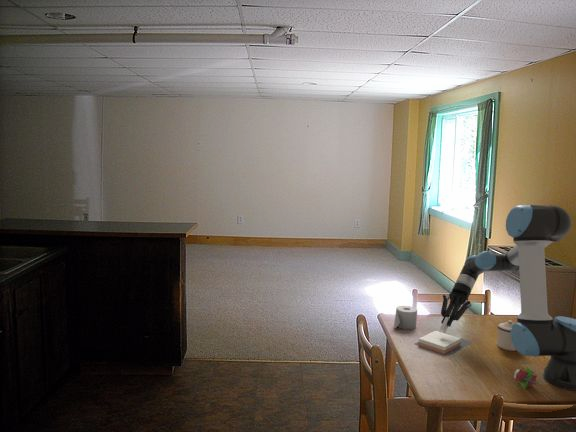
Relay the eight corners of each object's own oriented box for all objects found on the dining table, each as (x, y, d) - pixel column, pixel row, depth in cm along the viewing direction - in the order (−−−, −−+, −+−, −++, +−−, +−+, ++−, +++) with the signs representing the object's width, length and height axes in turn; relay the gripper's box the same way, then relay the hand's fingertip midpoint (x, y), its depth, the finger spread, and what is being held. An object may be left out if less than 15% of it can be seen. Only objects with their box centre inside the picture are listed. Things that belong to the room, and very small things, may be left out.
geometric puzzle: (535, 376, 181) (523, 359, 180) (545, 385, 174) (533, 367, 173) (518, 387, 181) (507, 370, 180) (528, 396, 174) (516, 379, 173)
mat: (439, 332, 228) (439, 331, 228) (473, 342, 217) (473, 341, 217) (413, 344, 213) (413, 343, 213) (448, 356, 201) (448, 355, 201)
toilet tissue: (391, 330, 229) (392, 312, 228) (399, 321, 241) (399, 304, 240) (410, 334, 225) (411, 315, 224) (417, 325, 237) (418, 307, 236)
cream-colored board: (435, 330, 221) (418, 338, 211) (461, 338, 212) (444, 346, 203) (435, 337, 221) (418, 345, 211) (460, 345, 213) (444, 353, 203)
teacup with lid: (519, 352, 207) (521, 326, 205) (495, 348, 211) (497, 322, 209) (519, 343, 218) (521, 317, 216) (497, 339, 222) (499, 314, 220)
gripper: (479, 294, 220) (459, 340, 210) (452, 288, 229) (431, 331, 219) (475, 285, 215) (454, 331, 206) (447, 278, 224) (425, 322, 215)
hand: (442, 331), depth 213 cm, fingers closed
